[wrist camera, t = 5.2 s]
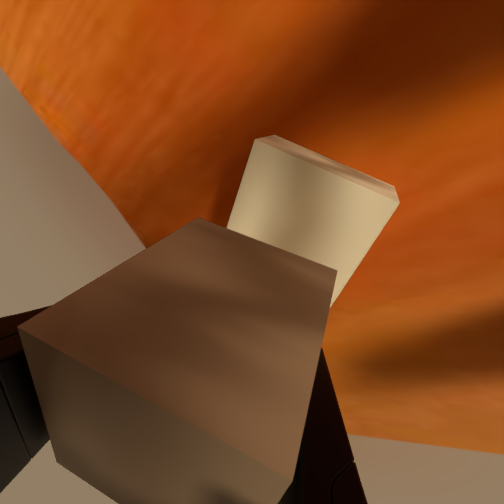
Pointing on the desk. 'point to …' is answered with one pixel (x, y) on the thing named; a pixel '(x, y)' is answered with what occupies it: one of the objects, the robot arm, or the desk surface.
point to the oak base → (311, 206)
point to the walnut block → (184, 369)
